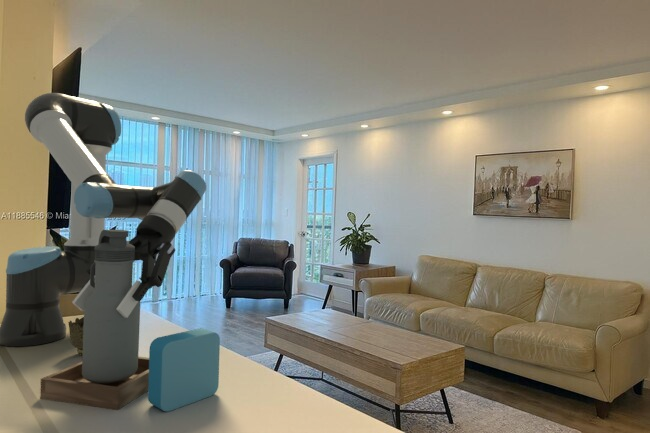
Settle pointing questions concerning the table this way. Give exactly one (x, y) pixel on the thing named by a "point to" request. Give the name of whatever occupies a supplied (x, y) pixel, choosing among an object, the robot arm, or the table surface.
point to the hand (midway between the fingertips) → (99, 310)
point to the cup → (77, 334)
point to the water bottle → (110, 313)
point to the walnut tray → (95, 387)
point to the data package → (183, 368)
